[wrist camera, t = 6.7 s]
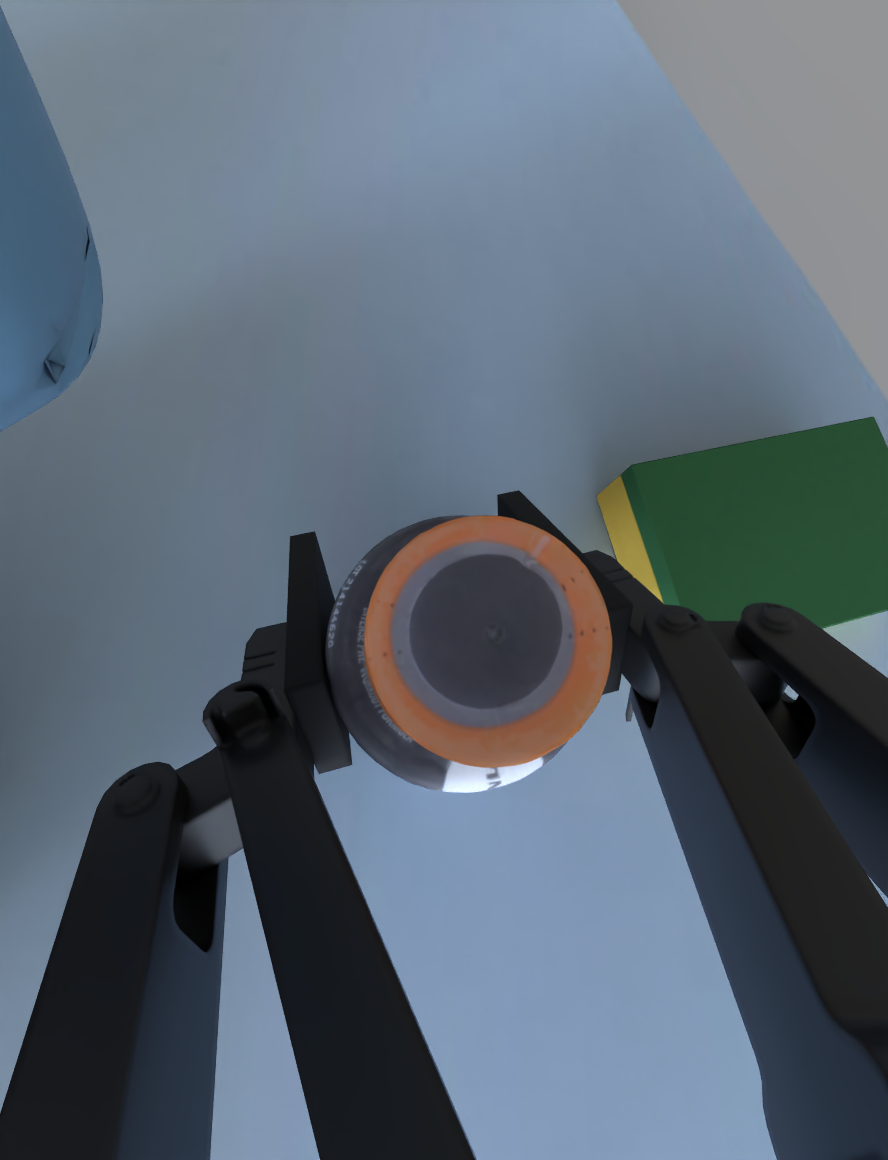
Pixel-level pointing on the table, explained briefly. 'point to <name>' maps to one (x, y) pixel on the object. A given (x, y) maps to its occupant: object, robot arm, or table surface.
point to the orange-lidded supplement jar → (467, 651)
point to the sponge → (761, 525)
